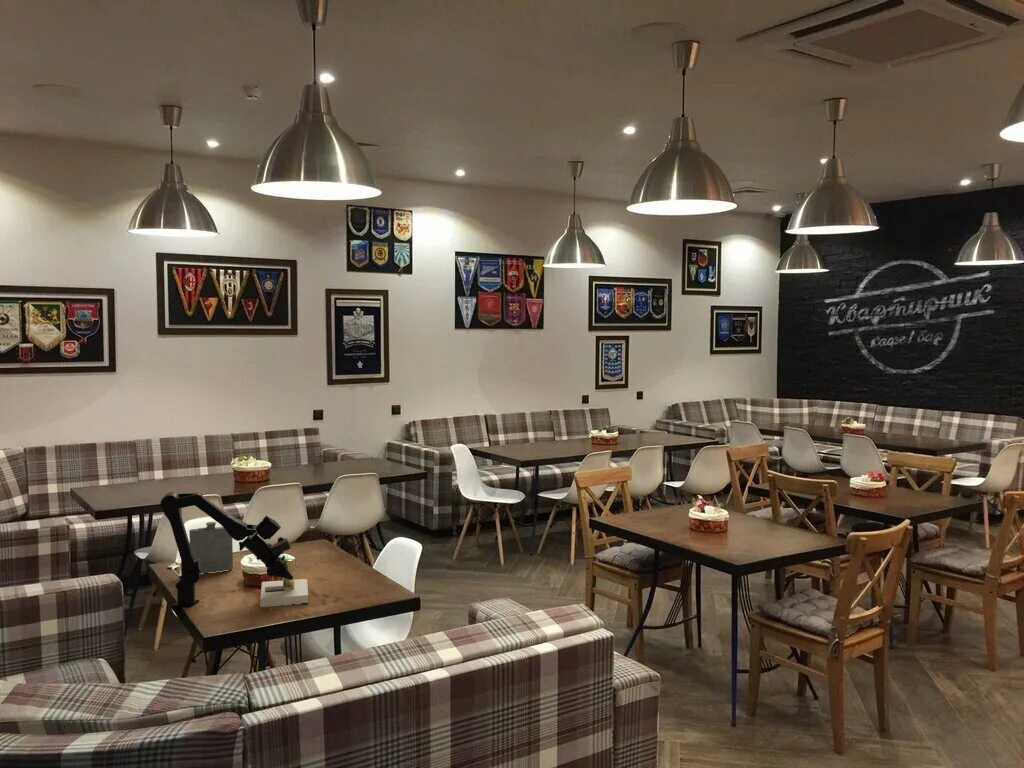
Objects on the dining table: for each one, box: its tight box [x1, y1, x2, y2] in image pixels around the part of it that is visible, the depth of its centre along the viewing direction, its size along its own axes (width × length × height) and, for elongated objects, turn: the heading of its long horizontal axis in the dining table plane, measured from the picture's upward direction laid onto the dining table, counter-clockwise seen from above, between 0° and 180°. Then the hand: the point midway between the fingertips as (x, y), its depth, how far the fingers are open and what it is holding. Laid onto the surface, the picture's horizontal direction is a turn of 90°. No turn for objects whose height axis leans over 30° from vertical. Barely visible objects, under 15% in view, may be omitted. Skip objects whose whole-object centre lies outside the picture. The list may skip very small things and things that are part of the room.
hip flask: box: [188, 521, 234, 573], centre depth 328 cm, size 16×4×20 cm, turn 114°
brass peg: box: [282, 558, 295, 590], centre depth 298 cm, size 5×5×13 cm
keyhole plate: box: [259, 578, 309, 608], centre depth 298 cm, size 16×20×3 cm
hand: (292, 577), depth 298 cm, fingers closed on brass peg, 4 cm apart
